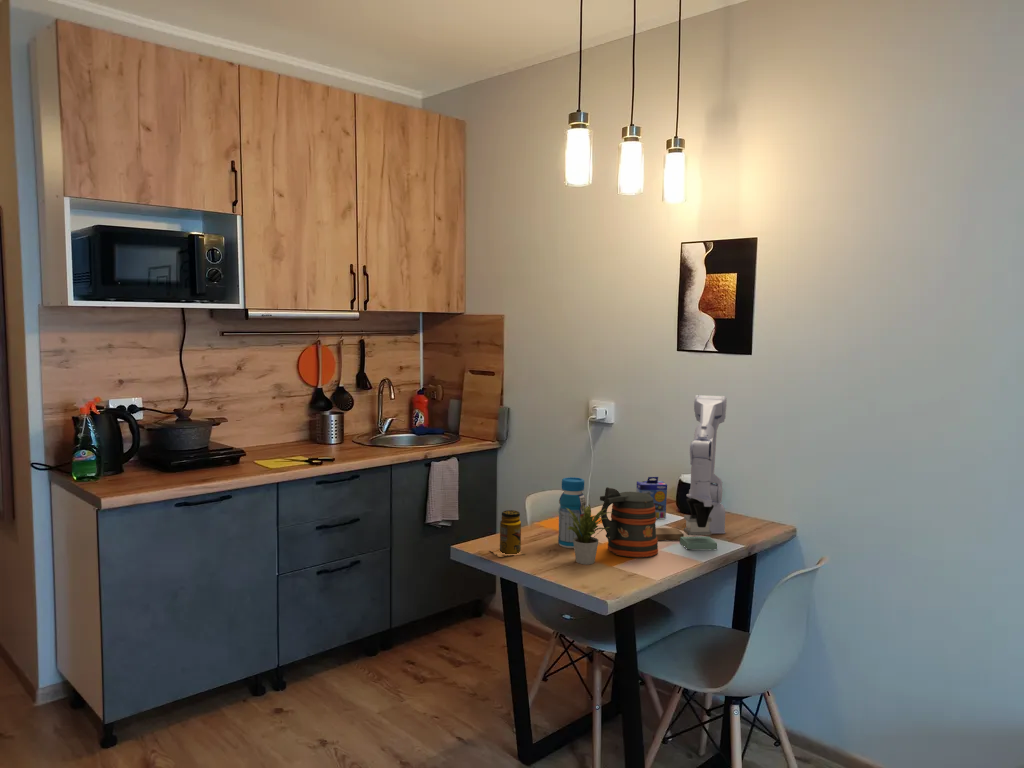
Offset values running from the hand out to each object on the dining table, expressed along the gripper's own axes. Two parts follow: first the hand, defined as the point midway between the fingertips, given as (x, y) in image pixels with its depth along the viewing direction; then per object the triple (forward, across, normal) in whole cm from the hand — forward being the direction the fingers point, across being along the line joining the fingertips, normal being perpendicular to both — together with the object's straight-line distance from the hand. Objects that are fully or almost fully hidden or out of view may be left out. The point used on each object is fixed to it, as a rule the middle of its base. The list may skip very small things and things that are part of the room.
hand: (699, 524), depth 223 cm
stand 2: (+7, 0, 0) cm, 7 cm away
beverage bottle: (+7, -3, -38) cm, 39 cm away
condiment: (+7, +4, -58) cm, 59 cm away
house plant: (+7, +14, -36) cm, 39 cm away
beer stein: (+7, +5, -23) cm, 25 cm away
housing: (+2, 0, 0) cm, 3 cm away
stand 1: (+7, -10, -7) cm, 14 cm away
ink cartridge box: (+7, -35, -5) cm, 36 cm away
